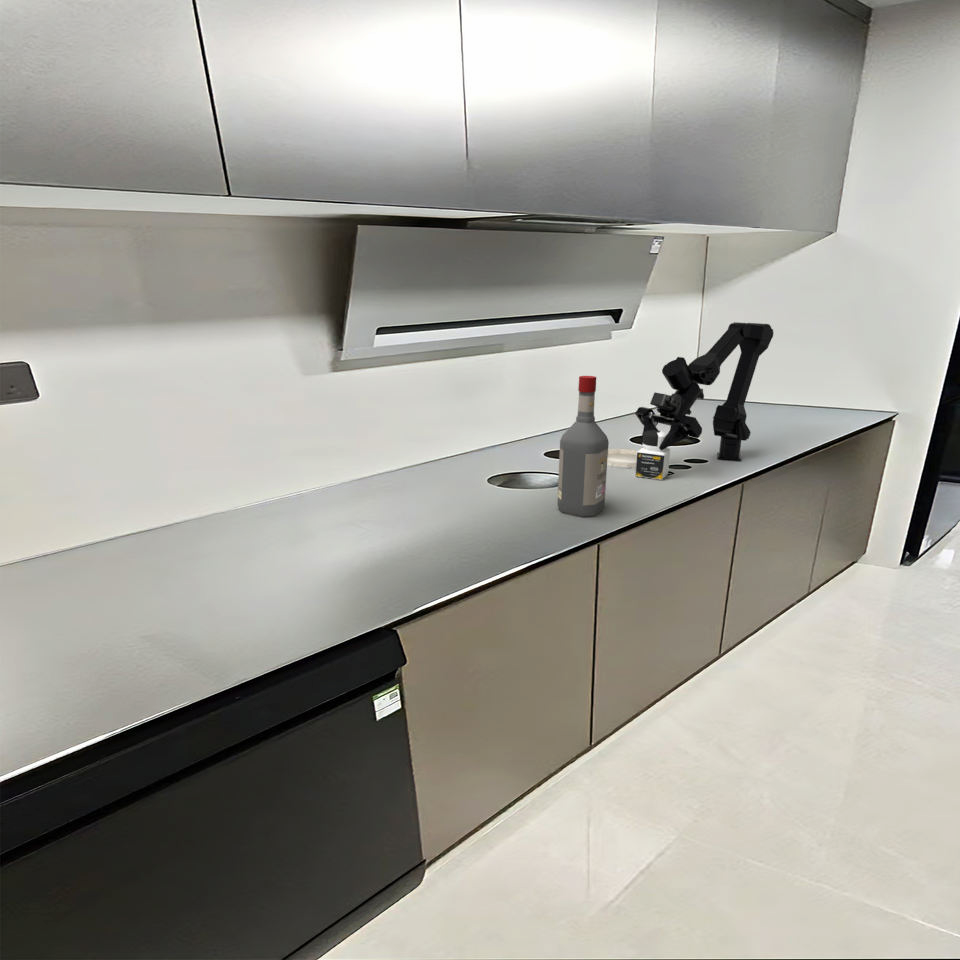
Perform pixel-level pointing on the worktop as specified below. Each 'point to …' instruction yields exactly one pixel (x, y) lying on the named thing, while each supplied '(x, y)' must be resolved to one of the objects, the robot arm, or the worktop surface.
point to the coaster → (622, 457)
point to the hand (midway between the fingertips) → (650, 446)
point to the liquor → (583, 459)
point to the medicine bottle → (652, 456)
